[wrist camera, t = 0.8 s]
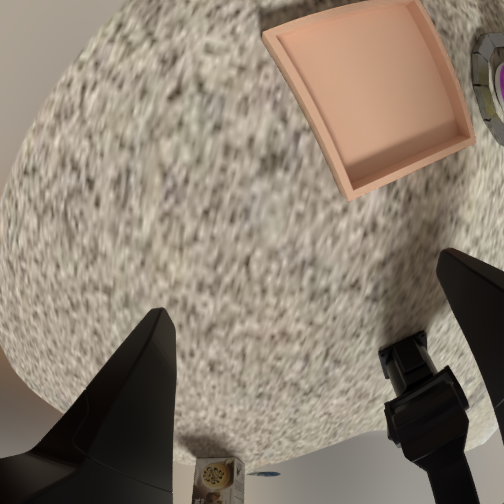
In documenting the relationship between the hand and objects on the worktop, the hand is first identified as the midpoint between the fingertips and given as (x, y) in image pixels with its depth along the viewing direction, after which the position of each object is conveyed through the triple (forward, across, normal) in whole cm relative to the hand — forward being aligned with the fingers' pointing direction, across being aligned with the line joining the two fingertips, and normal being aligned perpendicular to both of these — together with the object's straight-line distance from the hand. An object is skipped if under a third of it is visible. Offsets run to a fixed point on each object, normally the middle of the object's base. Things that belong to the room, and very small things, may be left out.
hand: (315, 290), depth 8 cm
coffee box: (+10, +18, +56) cm, 60 cm away
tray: (+14, -10, -5) cm, 18 cm away
